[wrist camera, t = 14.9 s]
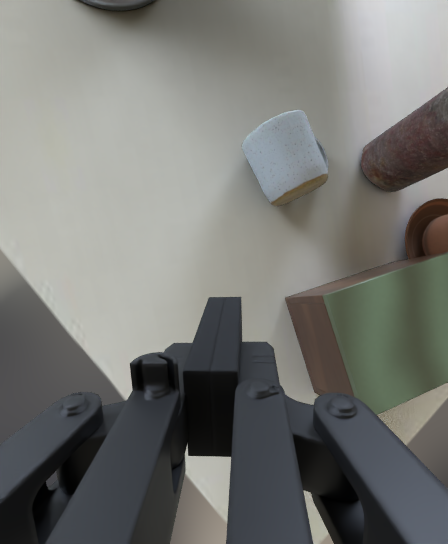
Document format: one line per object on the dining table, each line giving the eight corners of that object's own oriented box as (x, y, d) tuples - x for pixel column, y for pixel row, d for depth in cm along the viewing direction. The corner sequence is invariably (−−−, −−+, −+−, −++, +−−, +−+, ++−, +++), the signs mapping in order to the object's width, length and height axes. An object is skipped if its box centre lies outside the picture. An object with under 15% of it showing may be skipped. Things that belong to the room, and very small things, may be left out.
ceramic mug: (264, 217, 39) (291, 195, 32) (233, 156, 39) (253, 120, 32) (332, 184, 42) (372, 157, 35) (303, 127, 42) (337, 87, 34)
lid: (457, 248, 34) (465, 247, 33) (494, 356, 34) (502, 357, 33) (322, 295, 30) (326, 294, 29) (360, 417, 30) (366, 419, 29)
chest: (391, 262, 42) (451, 250, 34) (420, 348, 42) (488, 359, 33) (284, 297, 39) (321, 295, 30) (314, 392, 38) (360, 416, 30)
